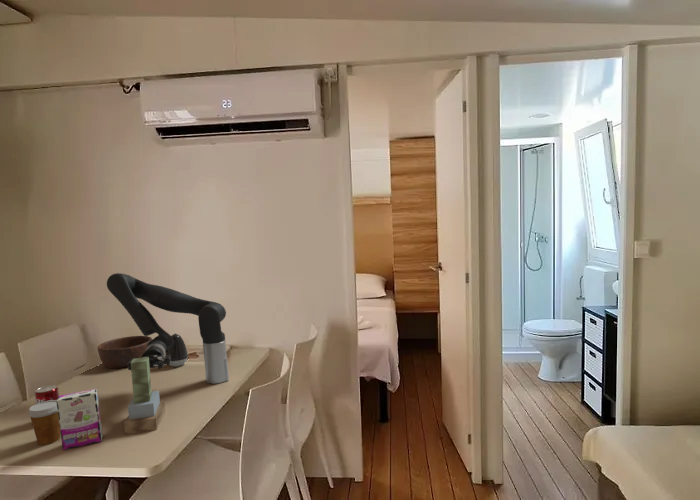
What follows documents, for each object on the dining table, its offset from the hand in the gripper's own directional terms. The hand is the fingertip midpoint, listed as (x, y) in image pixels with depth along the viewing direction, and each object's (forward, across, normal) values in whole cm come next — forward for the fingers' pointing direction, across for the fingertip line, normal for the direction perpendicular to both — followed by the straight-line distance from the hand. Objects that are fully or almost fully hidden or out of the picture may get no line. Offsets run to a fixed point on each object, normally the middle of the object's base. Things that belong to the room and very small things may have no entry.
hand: (146, 368), depth 171 cm
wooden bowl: (-76, -24, +18) cm, 82 cm away
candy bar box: (+14, -19, +18) cm, 29 cm away
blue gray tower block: (+4, -1, +14) cm, 15 cm away
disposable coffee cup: (+8, -30, +18) cm, 36 cm away
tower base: (+4, -1, +18) cm, 19 cm away
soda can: (-11, -36, +18) cm, 42 cm away
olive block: (+5, -1, +9) cm, 11 cm away
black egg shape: (-60, +2, +18) cm, 63 cm away
